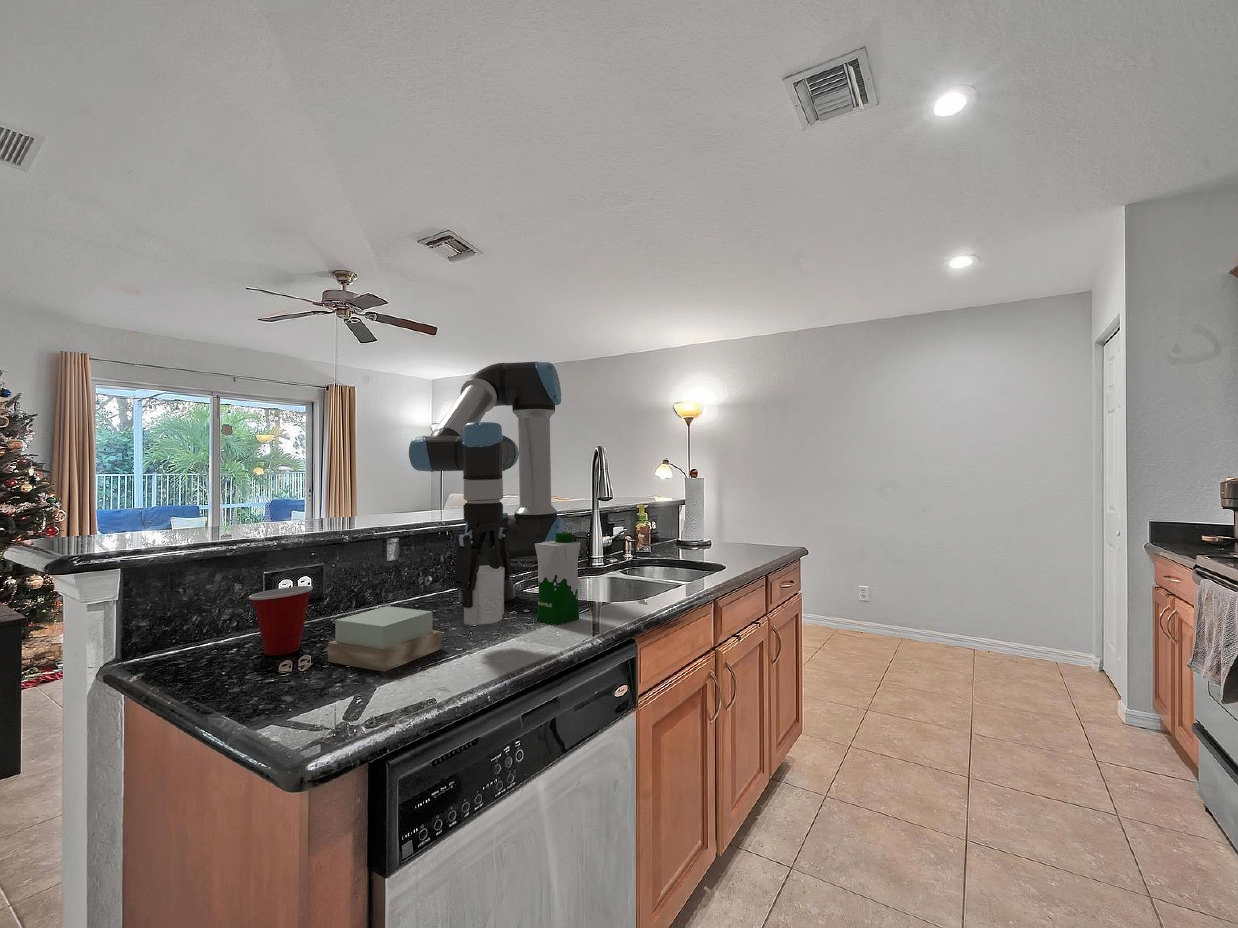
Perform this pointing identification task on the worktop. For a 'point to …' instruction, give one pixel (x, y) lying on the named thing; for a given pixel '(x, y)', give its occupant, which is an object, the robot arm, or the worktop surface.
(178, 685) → the worktop surface
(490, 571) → the white cup
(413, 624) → the tower top
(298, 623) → the plastic cup
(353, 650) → the tower base
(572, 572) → the milk carton
